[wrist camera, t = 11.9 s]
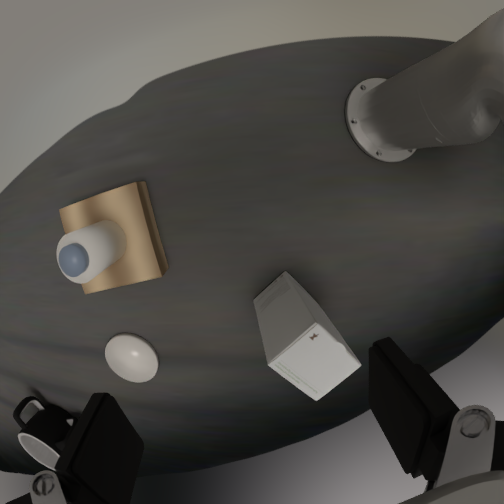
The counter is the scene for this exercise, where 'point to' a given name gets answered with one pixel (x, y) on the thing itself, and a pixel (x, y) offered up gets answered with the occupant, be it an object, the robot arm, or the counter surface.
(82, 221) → the oak slab
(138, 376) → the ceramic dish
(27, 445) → the mug
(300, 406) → the counter surface
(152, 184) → the counter surface
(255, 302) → the skincare box
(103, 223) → the reagent bottle
